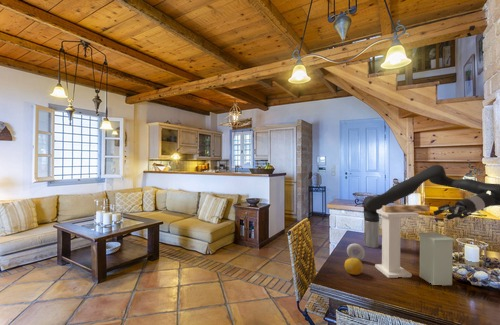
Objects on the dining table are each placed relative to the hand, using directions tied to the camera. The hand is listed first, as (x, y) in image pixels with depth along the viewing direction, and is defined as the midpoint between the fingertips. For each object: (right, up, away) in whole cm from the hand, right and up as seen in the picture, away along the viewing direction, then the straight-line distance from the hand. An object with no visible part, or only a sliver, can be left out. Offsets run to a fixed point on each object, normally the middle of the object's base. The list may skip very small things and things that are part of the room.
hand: (440, 215), depth 126 cm
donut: (-37, -30, +17) cm, 50 cm away
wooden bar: (-17, +2, +2) cm, 17 cm away
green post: (-8, -30, -7) cm, 32 cm away
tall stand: (-21, -30, +2) cm, 37 cm away
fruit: (-45, -31, +1) cm, 54 cm away
